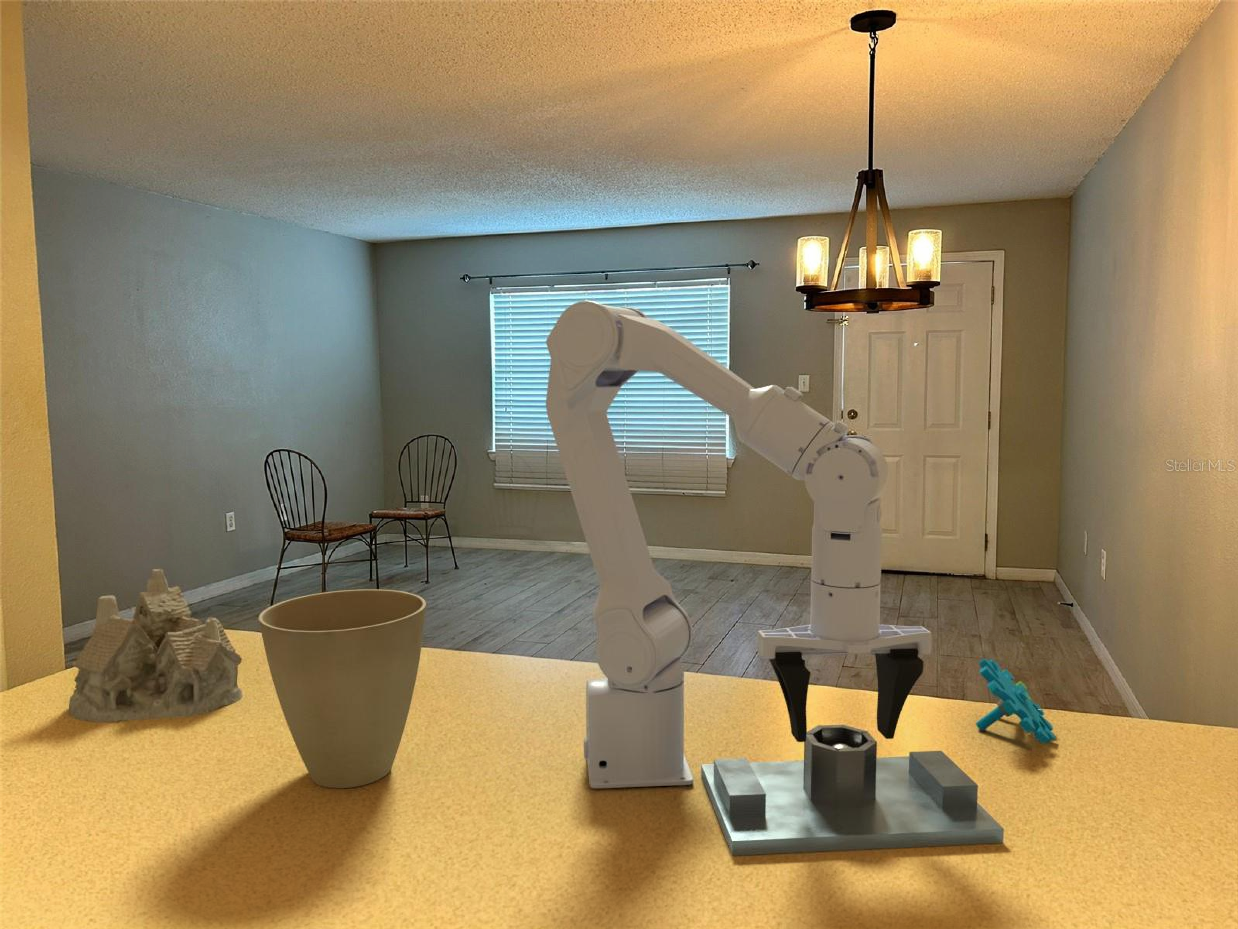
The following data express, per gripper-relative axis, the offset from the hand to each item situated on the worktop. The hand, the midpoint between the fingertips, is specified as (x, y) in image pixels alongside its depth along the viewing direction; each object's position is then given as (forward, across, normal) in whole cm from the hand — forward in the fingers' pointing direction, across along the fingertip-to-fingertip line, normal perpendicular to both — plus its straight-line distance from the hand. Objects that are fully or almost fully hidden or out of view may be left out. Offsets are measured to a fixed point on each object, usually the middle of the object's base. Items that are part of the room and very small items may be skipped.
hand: (842, 736), depth 78 cm
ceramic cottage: (+7, -70, +32) cm, 77 cm away
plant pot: (+7, -44, +11) cm, 46 cm away
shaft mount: (+6, 0, 0) cm, 6 cm away
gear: (+7, +24, +14) cm, 28 cm away
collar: (+5, 0, 0) cm, 5 cm away
